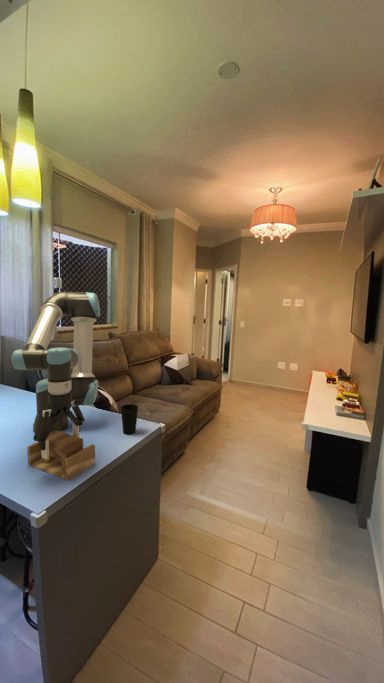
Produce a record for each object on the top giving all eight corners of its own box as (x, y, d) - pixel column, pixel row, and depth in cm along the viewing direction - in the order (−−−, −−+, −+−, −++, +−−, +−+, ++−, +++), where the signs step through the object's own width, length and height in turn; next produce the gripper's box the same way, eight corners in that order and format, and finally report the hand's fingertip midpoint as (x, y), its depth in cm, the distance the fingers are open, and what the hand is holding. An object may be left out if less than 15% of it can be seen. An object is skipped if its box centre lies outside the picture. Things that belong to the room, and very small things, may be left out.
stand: (28, 465, 102) (27, 446, 101) (56, 450, 113) (55, 433, 112) (68, 480, 93) (68, 460, 93) (95, 463, 104) (94, 444, 103)
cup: (133, 436, 126) (133, 410, 125) (117, 434, 128) (117, 409, 126) (140, 429, 134) (140, 405, 132) (125, 427, 135) (125, 403, 134)
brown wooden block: (83, 453, 102) (83, 438, 102) (66, 462, 96) (66, 447, 95) (57, 443, 109) (57, 430, 108) (40, 451, 102) (39, 437, 102)
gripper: (35, 403, 87) (37, 469, 90) (93, 385, 109) (94, 437, 112) (19, 400, 90) (21, 463, 93) (79, 382, 113) (80, 433, 115)
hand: (61, 449), depth 102 cm, fingers open, 13 cm apart
